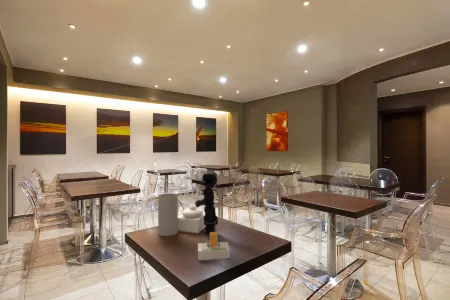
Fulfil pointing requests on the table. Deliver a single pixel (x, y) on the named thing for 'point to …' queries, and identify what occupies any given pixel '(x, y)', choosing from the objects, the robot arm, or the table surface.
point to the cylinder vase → (167, 214)
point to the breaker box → (213, 251)
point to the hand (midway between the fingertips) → (209, 220)
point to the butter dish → (191, 220)
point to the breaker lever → (213, 238)
